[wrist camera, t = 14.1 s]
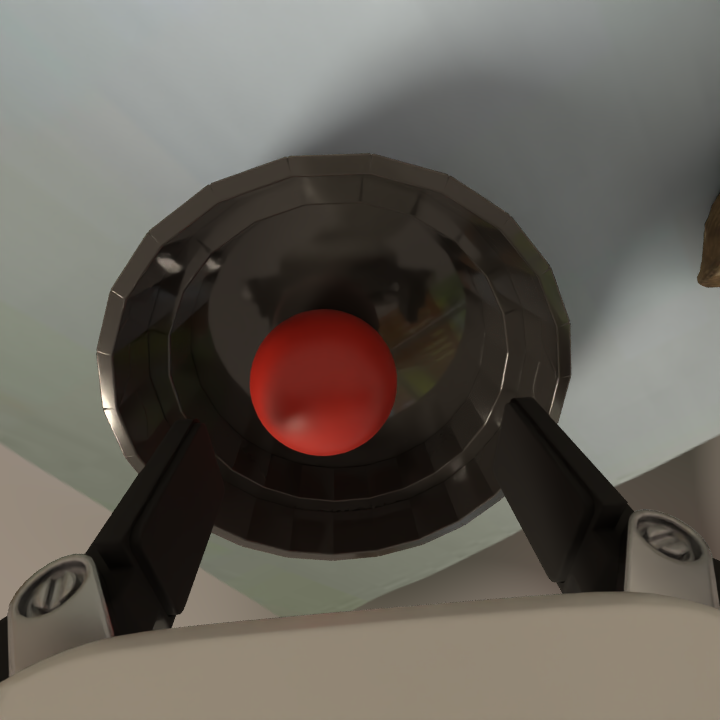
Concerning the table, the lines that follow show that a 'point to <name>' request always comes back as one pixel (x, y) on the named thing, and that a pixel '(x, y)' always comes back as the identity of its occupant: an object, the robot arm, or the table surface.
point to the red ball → (323, 382)
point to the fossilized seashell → (711, 249)
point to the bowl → (354, 296)
